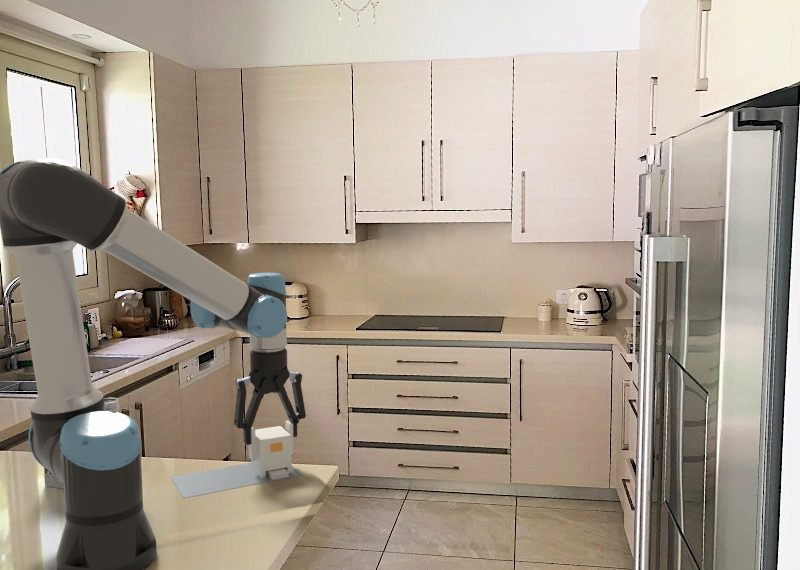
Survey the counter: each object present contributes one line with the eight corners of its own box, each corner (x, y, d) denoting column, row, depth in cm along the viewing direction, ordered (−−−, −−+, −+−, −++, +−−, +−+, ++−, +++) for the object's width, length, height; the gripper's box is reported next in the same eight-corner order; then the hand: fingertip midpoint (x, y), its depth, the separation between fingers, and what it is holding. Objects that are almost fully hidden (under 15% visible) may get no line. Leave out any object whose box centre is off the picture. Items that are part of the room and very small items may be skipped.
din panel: (302, 482, 154) (302, 470, 154) (183, 505, 143) (183, 493, 142) (282, 463, 164) (282, 452, 164) (171, 484, 153) (170, 472, 153)
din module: (292, 472, 155) (291, 435, 154) (262, 478, 152) (261, 440, 151) (281, 461, 161) (280, 425, 160) (251, 466, 158) (250, 430, 157)
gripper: (308, 340, 162) (310, 442, 165) (214, 349, 152) (218, 458, 155) (321, 346, 155) (323, 452, 158) (224, 357, 146) (228, 469, 148)
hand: (271, 455), depth 156 cm, fingers open, 7 cm apart
